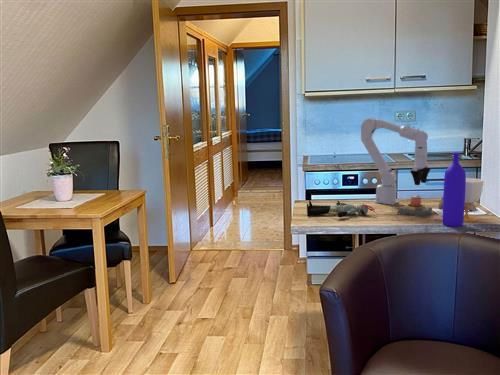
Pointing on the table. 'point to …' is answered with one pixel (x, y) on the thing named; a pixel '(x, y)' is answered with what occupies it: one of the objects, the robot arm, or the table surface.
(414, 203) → the can
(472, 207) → the stone
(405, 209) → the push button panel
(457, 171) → the bottle
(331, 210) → the toy
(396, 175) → the robot arm
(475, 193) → the cup
